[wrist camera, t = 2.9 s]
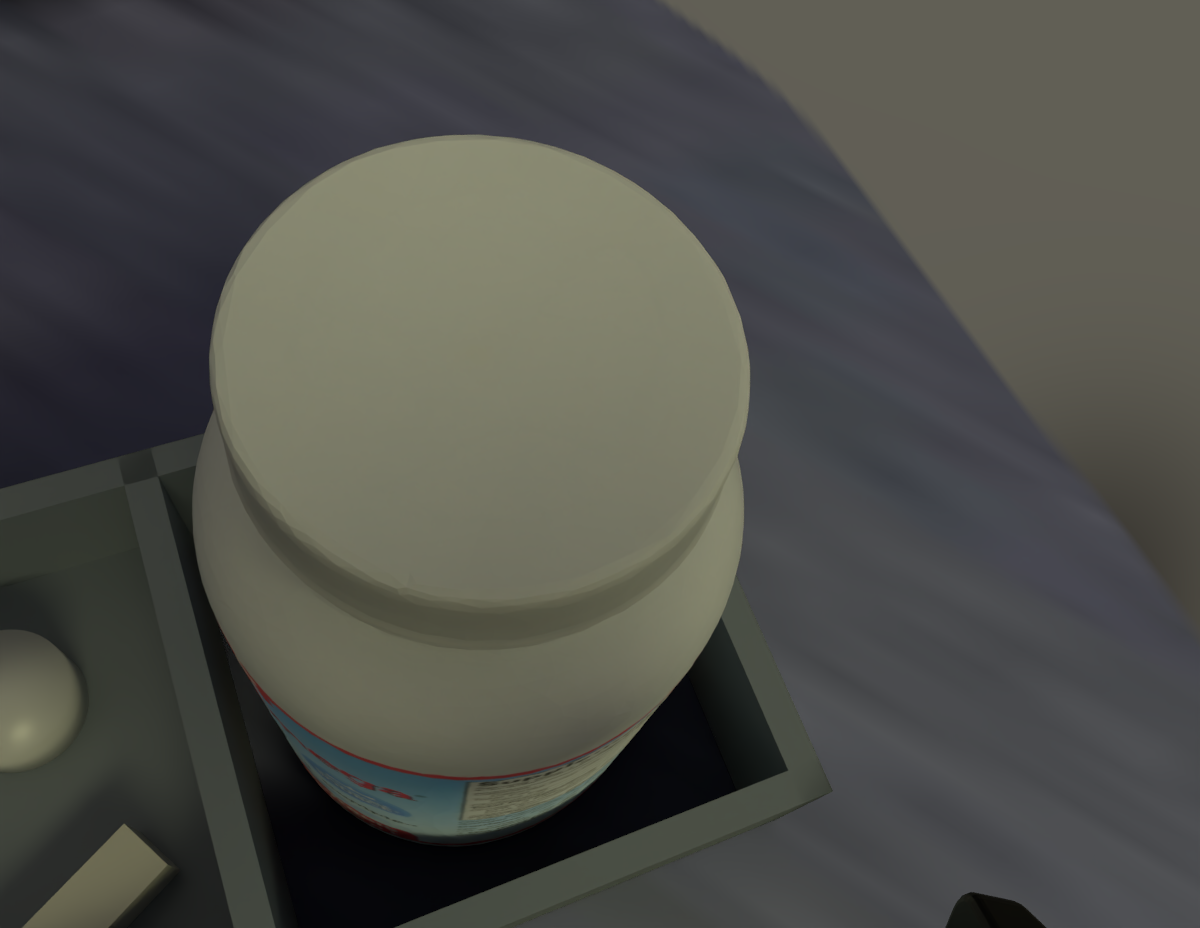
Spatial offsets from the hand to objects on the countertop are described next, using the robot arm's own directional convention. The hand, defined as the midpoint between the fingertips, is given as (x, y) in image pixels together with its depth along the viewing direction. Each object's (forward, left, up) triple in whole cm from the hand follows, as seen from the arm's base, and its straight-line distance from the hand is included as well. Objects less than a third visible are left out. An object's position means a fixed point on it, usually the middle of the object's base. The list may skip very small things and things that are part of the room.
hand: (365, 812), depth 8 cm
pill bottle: (+2, +3, -11) cm, 12 cm away
